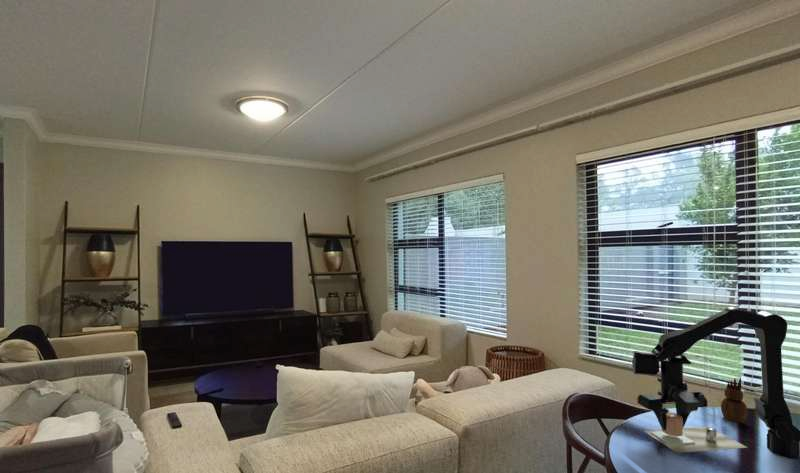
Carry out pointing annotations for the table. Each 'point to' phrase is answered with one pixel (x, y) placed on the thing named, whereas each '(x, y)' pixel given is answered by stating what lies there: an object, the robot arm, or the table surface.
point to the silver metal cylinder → (711, 435)
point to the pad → (672, 439)
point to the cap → (674, 424)
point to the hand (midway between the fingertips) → (672, 429)
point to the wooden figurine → (734, 403)
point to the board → (701, 441)
